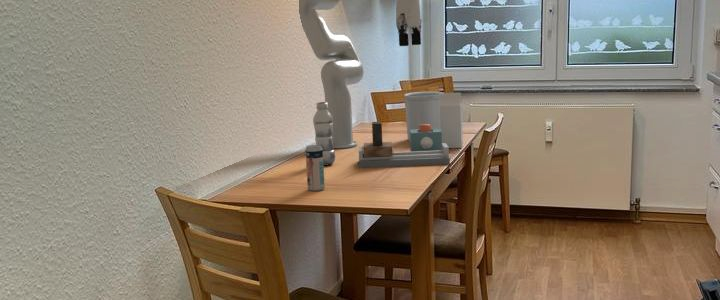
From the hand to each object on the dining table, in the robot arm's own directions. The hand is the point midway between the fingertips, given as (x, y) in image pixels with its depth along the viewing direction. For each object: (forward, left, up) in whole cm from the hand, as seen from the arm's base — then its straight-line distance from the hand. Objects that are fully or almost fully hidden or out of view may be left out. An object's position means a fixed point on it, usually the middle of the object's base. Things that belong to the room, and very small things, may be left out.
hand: (410, 45), depth 237 cm
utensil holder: (+6, +27, -37) cm, 46 cm away
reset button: (+4, -5, -31) cm, 32 cm away
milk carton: (+14, +8, -36) cm, 40 cm away
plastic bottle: (-29, -16, -36) cm, 49 cm away
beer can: (-29, -52, -36) cm, 70 cm away
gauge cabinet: (+4, -5, -36) cm, 37 cm away
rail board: (-4, -18, -36) cm, 41 cm away
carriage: (-12, -18, -33) cm, 40 cm away
